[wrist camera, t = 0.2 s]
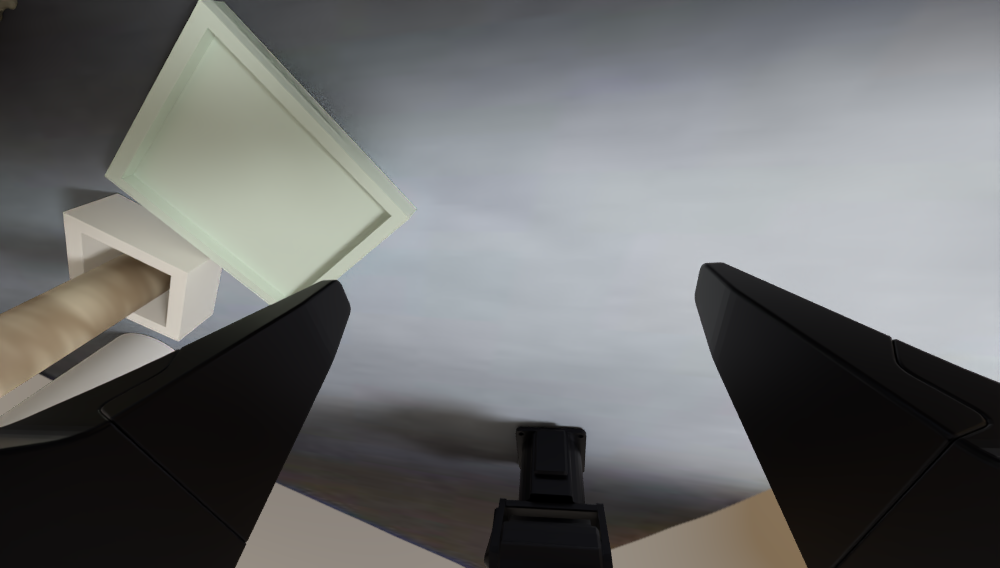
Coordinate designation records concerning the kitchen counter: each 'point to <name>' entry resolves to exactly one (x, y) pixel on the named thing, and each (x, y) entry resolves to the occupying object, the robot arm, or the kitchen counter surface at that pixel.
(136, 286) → the dowel
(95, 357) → the cylindrical container
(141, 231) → the holder
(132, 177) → the tray
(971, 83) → the kitchen counter surface
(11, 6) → the juice carton
